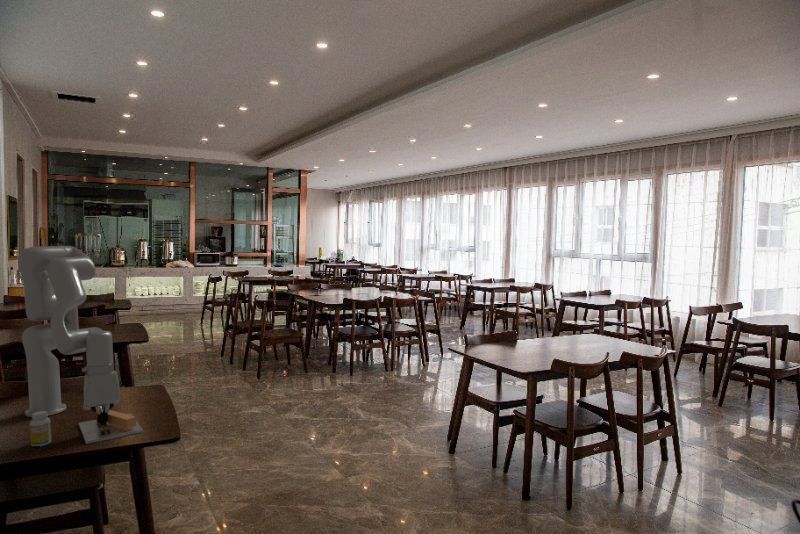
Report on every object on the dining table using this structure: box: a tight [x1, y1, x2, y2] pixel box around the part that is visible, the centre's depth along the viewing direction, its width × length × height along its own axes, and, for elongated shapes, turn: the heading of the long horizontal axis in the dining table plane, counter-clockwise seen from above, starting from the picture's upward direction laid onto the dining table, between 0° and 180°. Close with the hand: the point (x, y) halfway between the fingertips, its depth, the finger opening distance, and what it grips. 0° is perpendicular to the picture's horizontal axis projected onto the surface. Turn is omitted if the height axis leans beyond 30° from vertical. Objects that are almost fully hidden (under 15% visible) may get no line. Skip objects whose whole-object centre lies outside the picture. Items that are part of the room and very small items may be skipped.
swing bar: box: [101, 408, 137, 429], centre depth 179 cm, size 16×3×3 cm, turn 60°
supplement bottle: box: [29, 411, 52, 447], centre depth 166 cm, size 5×5×10 cm
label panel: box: [78, 405, 144, 445], centre depth 178 cm, size 20×16×6 cm
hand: (103, 424), depth 177 cm, fingers closed
